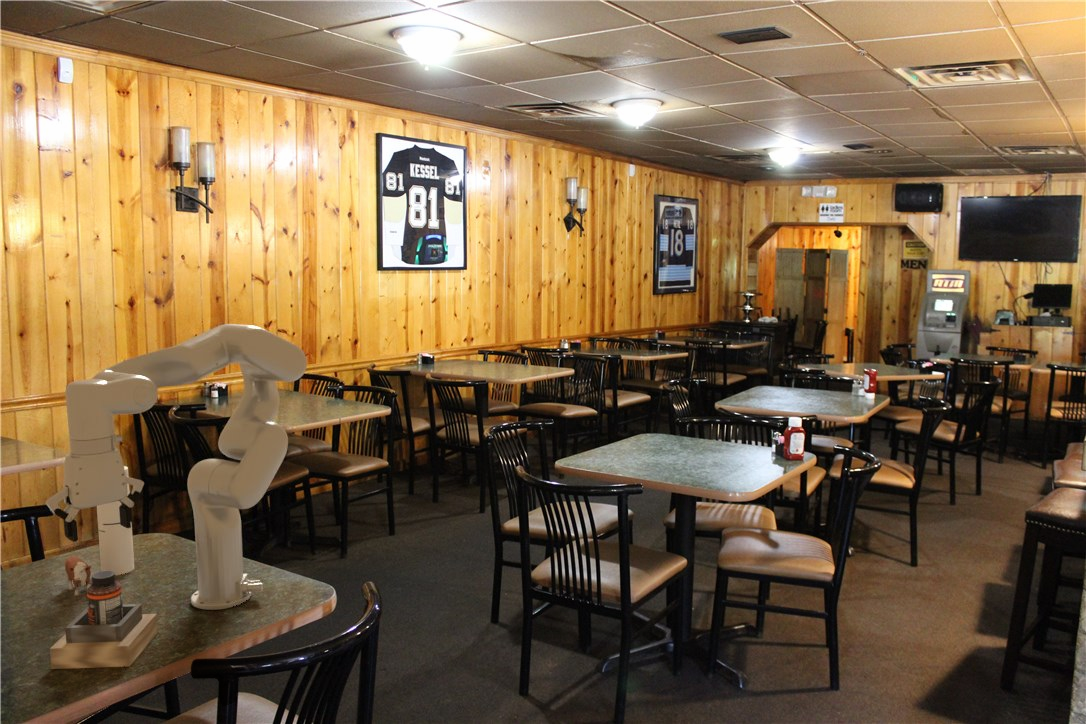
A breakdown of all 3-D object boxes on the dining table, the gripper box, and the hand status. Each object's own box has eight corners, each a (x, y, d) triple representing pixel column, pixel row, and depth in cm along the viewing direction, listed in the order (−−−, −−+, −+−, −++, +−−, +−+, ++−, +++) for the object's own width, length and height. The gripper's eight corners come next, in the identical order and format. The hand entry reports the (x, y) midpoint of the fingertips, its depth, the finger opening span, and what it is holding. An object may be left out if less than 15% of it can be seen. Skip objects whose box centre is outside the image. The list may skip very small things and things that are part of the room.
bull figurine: (73, 604, 184) (70, 569, 183) (65, 585, 195) (62, 551, 194) (95, 600, 187) (93, 564, 186) (86, 580, 197) (83, 547, 196)
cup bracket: (157, 632, 171) (155, 599, 170) (129, 666, 157) (127, 630, 156) (86, 634, 170) (83, 601, 169) (51, 669, 156) (48, 633, 155)
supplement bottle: (84, 629, 163) (81, 573, 162) (117, 620, 167) (114, 565, 166) (95, 639, 159) (91, 582, 157) (128, 629, 163) (125, 574, 162)
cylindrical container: (125, 575, 200) (118, 473, 197) (95, 575, 200) (88, 473, 197) (139, 564, 207) (133, 465, 204) (111, 564, 207) (104, 465, 204)
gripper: (130, 434, 167) (136, 517, 169) (34, 451, 154) (42, 540, 156) (148, 440, 162) (154, 525, 165) (50, 457, 149) (58, 550, 152)
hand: (99, 533), depth 161 cm, fingers open, 9 cm apart
